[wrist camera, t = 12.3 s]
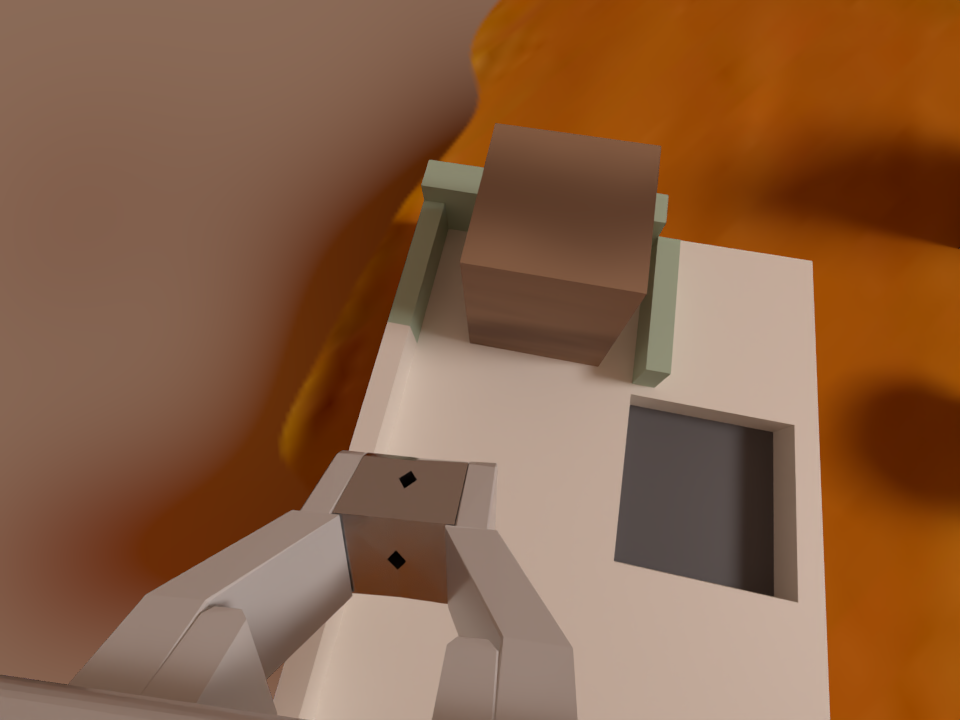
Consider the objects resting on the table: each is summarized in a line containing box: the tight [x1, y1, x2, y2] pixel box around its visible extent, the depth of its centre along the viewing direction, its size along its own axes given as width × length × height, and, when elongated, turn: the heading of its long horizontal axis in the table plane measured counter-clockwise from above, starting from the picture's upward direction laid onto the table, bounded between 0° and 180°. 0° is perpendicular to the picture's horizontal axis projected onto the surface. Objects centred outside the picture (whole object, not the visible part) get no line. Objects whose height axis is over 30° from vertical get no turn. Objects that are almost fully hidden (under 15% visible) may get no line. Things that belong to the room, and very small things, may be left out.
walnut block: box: [460, 123, 661, 367], centre depth 19 cm, size 6×6×7 cm
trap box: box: [273, 160, 830, 720], centre depth 17 cm, size 36×19×5 cm, turn 168°
